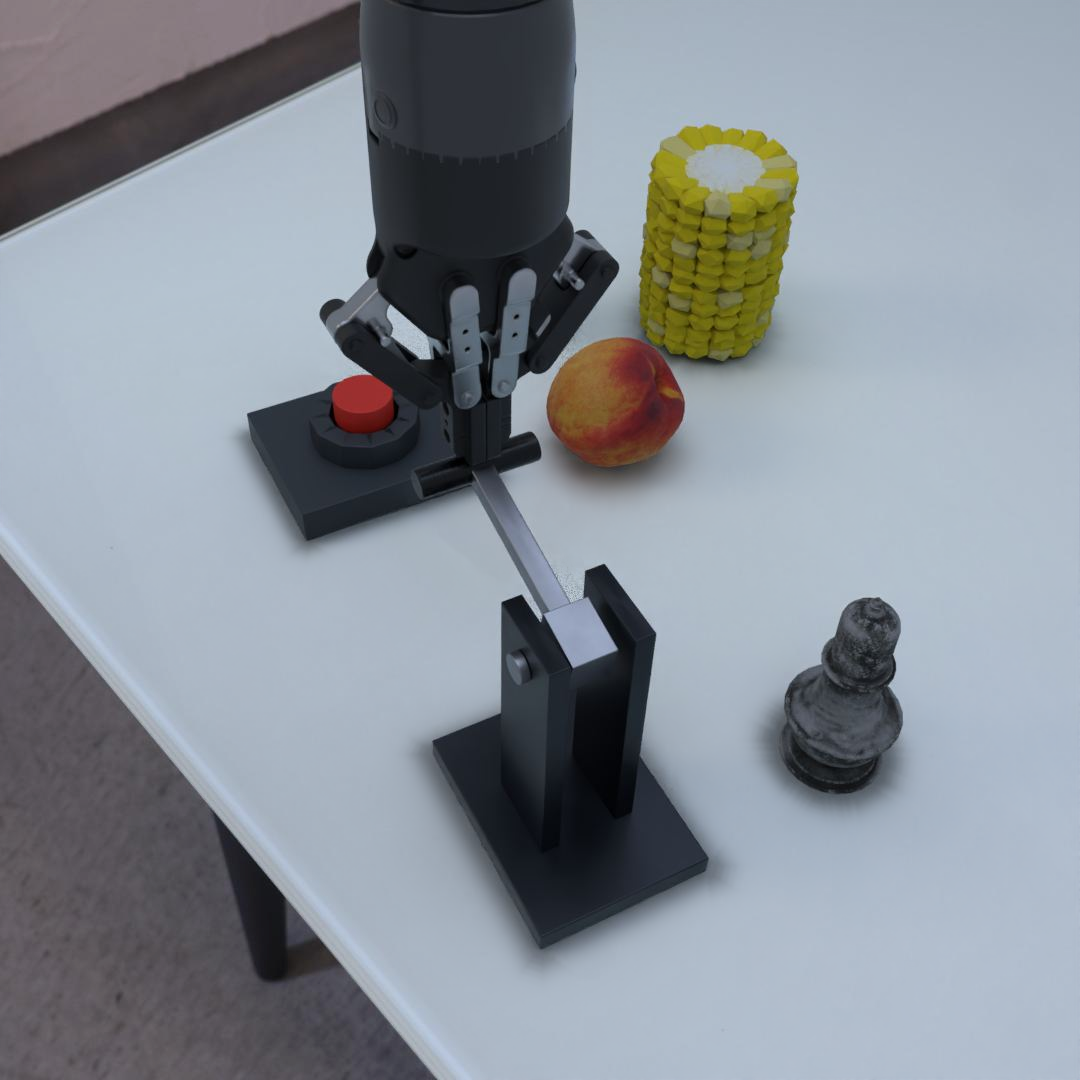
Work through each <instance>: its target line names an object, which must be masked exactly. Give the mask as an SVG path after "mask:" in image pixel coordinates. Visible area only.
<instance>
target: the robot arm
mask: <svg viewBox="0 0 1080 1080" xmlns="http://www.w3.org/2000/svg"><path fill="white" fill-rule="evenodd" d="M359 9H360V10H359V33H358V35H359V36H358V37H359V38H358V39H359V56H360V68H361V69H360V70H361V81H362V94H363V95H362V96H363V105H364V106H363V107H364V118H365V129H366V142H367V144H366V145H367V153H368V154H367V155H368V169H369V179H370V181H369V182H370V190H371V191H370V192H371V202H372V203H371V204H372V214H373V219H374V227H375V235H374V240H373V244H372V246H371V248H370V250H369V253H368V255H367V257H366V264H365V271H366V275H367V277H368V279H367V280H366V281H365V282H364V283H363V284H362V285H361V286H360V287H359V288H358V289H357V290H356V291H355V292H354V293H353V294H352V296H350V297H349V298H348V300H347V301H345V300H343V299H342V298H332V299H329V300H328V301H326V302H325V303H323V305H322V306H321V308H320V309H319V313H318V314H319V320H320V321H321V322H322V324H323V326H324V327H325V329H326V330H327V332H328V333H329V335H330V336H331V338H332V340H333V341H334V342H335V344H336V345H337V347H338V348H339V350H340V351H341V353H342V354H343V356H344V357H345V358H347V359H349V360H350V361H351V362H353V363H354V364H355V365H356V366H359V367H360V368H361V369H363V370H364V371H366V372H367V373H369V375H373V376H374V377H376V378H377V379H379V380H380V381H381V382H383V383H384V384H386V385H387V386H389V387H390V388H391V389H393V390H394V391H396V392H397V393H399V394H400V395H401V396H403V397H404V398H406V399H407V400H409V401H410V402H411V403H413V404H414V405H416V406H417V407H419V408H420V409H422V410H429V409H432V408H434V407H436V406H437V405H438V404H439V403H440V416H441V417H440V422H441V424H440V425H441V434H442V435H443V437H444V438H445V440H446V441H447V443H448V444H449V446H450V447H451V449H452V450H453V451H454V453H455V454H456V456H457V457H458V458H461V457H464V459H465V460H466V462H467V463H468V464H469V465H470V466H473V465H476V464H479V463H482V462H485V461H488V460H491V459H494V458H497V457H500V456H501V444H504V443H507V442H508V439H509V438H510V437H511V434H512V396H513V395H512V393H513V392H514V391H515V390H516V387H517V384H518V381H519V380H520V379H521V378H522V377H524V376H525V375H527V374H528V373H530V372H531V373H532V374H534V375H541V374H544V373H546V372H548V371H549V370H550V369H551V368H552V366H553V365H554V364H555V363H556V361H557V359H558V358H559V357H560V356H561V354H562V353H563V351H564V350H565V349H566V347H567V345H568V344H569V343H570V341H571V340H572V339H573V337H574V336H575V334H576V333H577V332H578V330H579V329H580V328H581V327H582V325H583V324H584V322H585V321H586V319H587V318H588V316H589V315H590V314H591V312H592V311H593V309H594V308H595V307H596V306H597V304H598V302H599V301H600V300H601V299H602V298H603V296H604V294H605V293H606V292H607V290H608V289H609V288H610V286H611V285H612V283H613V282H614V280H615V279H616V277H617V276H618V274H619V272H620V264H619V262H618V261H617V260H616V258H615V257H614V256H612V254H611V253H610V252H609V251H608V250H607V249H606V248H605V247H604V246H603V245H602V244H601V243H600V242H599V241H598V240H597V239H596V237H595V236H593V234H592V233H591V232H590V231H589V230H587V229H579V230H576V231H575V228H574V224H573V222H572V221H571V218H570V217H569V216H568V214H567V213H568V210H569V205H570V195H571V175H572V174H571V172H572V171H571V170H572V150H573V149H572V147H573V127H574V107H575V106H574V104H575V85H576V81H577V80H576V79H577V61H576V57H577V31H576V30H577V29H576V17H575V16H576V15H575V7H574V0H360V8H359ZM390 306H391V307H393V308H394V310H396V311H397V312H398V313H399V314H401V315H402V316H403V317H404V318H406V320H408V321H409V322H410V323H411V324H412V325H413V326H415V327H416V328H417V329H419V331H421V333H423V334H424V335H425V337H426V339H427V341H428V349H429V355H430V356H429V357H430V358H426V359H425V358H419V356H418V355H417V354H416V353H414V352H413V351H412V350H410V349H409V348H408V347H406V346H405V345H404V344H402V343H401V342H400V341H398V340H397V339H395V338H394V337H393V336H392V334H393V333H394V326H393V324H392V322H391V321H390V319H389V317H388V309H389V308H390ZM549 315H550V321H549V323H548V325H547V326H546V327H545V329H544V330H543V332H542V333H541V334H540V336H538V335H537V334H536V333H537V332H538V330H539V329H540V327H541V326H542V324H543V323H544V322H545V320H546V319H547V317H548V316H549Z"/></svg>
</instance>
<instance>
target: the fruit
mask: <svg viewBox="0 0 1080 1080" xmlns="http://www.w3.org/2000/svg"><path fill="white" fill-rule="evenodd" d="M683 393H684V392H682V389H681V387H680V384H679V383H678V381H677V379H676V377H675V375H674V373H673V371H672V369H671V367H670V366H669V365H668V363H667V361H666V360H665V358H664V356H663V355H662V354H661V353H660V352H659V351H658V349H656V348H655V347H654V346H653V345H650V344H648V343H647V342H645V341H642V340H640V339H638V338H634V337H630V336H629V337H628V336H623V337H622V336H616V337H610V338H605V339H601V340H597V341H594V342H592V343H590V344H588V345H586V346H584V347H583V348H581V349H579V350H578V351H577V352H576V353H575V354H573V355H572V356H570V357H569V358H568V359H566V360H565V362H564V363H563V364H562V366H560V368H559V369H558V371H557V373H556V375H555V377H554V379H553V381H552V383H551V385H550V387H549V391H548V393H547V397H546V403H545V404H546V405H545V408H546V417H547V421H548V424H549V427H550V429H551V431H552V433H553V434H554V435H555V436H556V438H557V439H558V440H559V442H561V443H562V444H563V445H564V446H565V447H566V448H567V449H568V450H569V451H571V452H572V453H573V454H575V455H577V456H578V457H579V458H580V459H581V460H583V461H584V462H585V463H588V464H591V465H593V466H596V467H605V468H608V467H619V466H626V465H630V464H637V463H641V462H644V461H646V460H648V459H650V458H651V457H653V456H654V455H656V454H658V453H659V452H660V450H662V449H663V448H664V447H665V446H666V445H667V444H668V442H669V441H670V440H671V439H672V438H673V437H674V435H675V434H676V432H677V431H678V430H679V428H680V426H681V424H682V423H683V421H684V416H685V411H686V401H685V396H684V394H683Z"/></svg>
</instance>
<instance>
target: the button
mask: <svg viewBox="0 0 1080 1080" xmlns="http://www.w3.org/2000/svg"><path fill="white" fill-rule="evenodd" d="M340 381H341V382H340ZM340 381H338V382H339V383H338V384H337V385H336V387H335V388H334V390H333V393H332V399H333V408H334V416H335V421H336V423H337V424H338V425H339V427H341V428H342V429H343V430H345V431H347V432H349V433H358V434H371V433H374V432H377V431H380V430H383V429H384V428H386V427H387V426H388V425H389V424H390V423H391V422H392V420H393V417H394V404H393V392H392V389H391V388H390V387H389V386H387V385H386V384H384V383H383V382H381V381H380V380H379V379H377V378H376V377H374V376H373V375H371V374H355V375H350V376H348V377H346V378H344V379H342V380H340Z"/></svg>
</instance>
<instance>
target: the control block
mask: <svg viewBox="0 0 1080 1080" xmlns="http://www.w3.org/2000/svg"><path fill="white" fill-rule="evenodd" d="M341 381H342V380H340V381H337V382H334V383H331V384H329V386H327V387H326V388H325V389H324V390H320V391H317V392H314V393H311V394H307V395H303V396H299V397H296V398H293V399H291V400H290V399H289V400H287V401H284V402H279V403H276V404H274V405H270V406H267V407H263V408H260V409H256V410H253V411H250V412H247V413H246V417H247V424H248V429H249V434H250V439H251V441H252V443H253V445H254V447H255V449H256V450H257V452H258V454H259V456H260V458H261V459H262V461H263V463H264V465H265V466H266V469H267V471H268V472H269V475H270V476H271V478H272V480H273V482H274V484H275V486H276V488H277V489H278V491H279V493H280V495H281V497H282V498H283V501H284V502H285V505H286V506H287V507H288V509H289V512H290V513H291V515H292V517H293V518H294V521H295V523H296V525H297V526H298V528H299V530H300V531H301V534H302V535H303V537H304V539H305V540H306V541H309V540H313V539H316V538H319V537H322V536H324V535H327V534H331V533H333V532H336V531H340V530H342V529H345V528H348V527H352V526H355V525H357V524H360V523H363V522H366V521H369V520H372V519H375V518H377V517H381V516H384V515H387V514H391V513H393V512H396V511H398V510H403V509H405V508H407V507H410V506H413V505H416V504H419V503H422V502H426V501H429V500H431V499H434V498H437V497H440V496H443V495H446V494H449V493H452V492H455V491H459V490H461V489H464V488H467V487H470V486H472V485H471V484H468V485H465V486H462V487H459V488H456V489H453V490H450V491H447V492H444V493H441V494H438V495H435V496H432V497H430V498H427V499H423V500H422V499H420V498H419V497H418V495H417V494H416V492H415V490H414V487H413V484H412V480H411V471H412V470H413V469H415V468H418V467H421V466H424V465H427V464H430V463H433V462H437V461H440V460H443V459H446V458H449V457H452V456H455V455H456V454H455V453H454V451H453V450H452V449H451V447H450V446H449V444H448V443H447V441H446V440H445V438H444V437H443V435H442V434H441V425H440V424H441V422H440V417H441V416H440V403H439V404H438V405H437V406H436V407H434V408H432V409H429V410H422V409H420V408H419V407H417V406H416V405H414V404H413V403H411V402H410V401H409V400H407V399H406V398H404V397H403V396H401V395H400V394H399V393H397V392H396V391H394V390H393V389H392V392H393V404H394V417H393V420H392V422H391V423H390V424H389V425H388V426H387V427H386V428H384V429H383V430H380V431H377V432H374V433H371V434H358V433H349V432H347V431H345V430H343V429H342V428H341V427H339V425H338V424H337V423H336V421H335V416H334V408H333V399H332V393H333V390H334V388H335V387H336V385H337V384H338V383H339V382H341Z"/></svg>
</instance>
